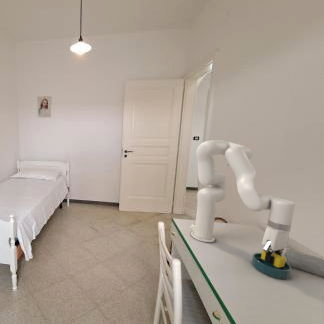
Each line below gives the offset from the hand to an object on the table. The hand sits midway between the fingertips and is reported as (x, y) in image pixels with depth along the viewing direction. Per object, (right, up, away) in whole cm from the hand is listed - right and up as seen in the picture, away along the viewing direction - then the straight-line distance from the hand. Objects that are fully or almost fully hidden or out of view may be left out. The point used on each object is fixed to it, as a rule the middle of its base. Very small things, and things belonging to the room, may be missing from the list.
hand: (272, 261), depth 97 cm
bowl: (0, -5, +1) cm, 5 cm away
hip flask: (+17, -2, +9) cm, 19 cm away
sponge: (0, -1, 0) cm, 0 cm away
